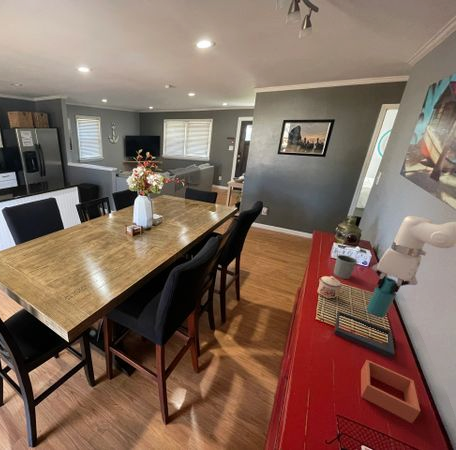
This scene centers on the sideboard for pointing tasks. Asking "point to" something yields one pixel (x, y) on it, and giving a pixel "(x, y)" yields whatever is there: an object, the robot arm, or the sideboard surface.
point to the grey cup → (344, 266)
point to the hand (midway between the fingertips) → (386, 289)
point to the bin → (385, 400)
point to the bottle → (382, 299)
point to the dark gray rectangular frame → (366, 342)
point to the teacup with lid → (330, 287)
